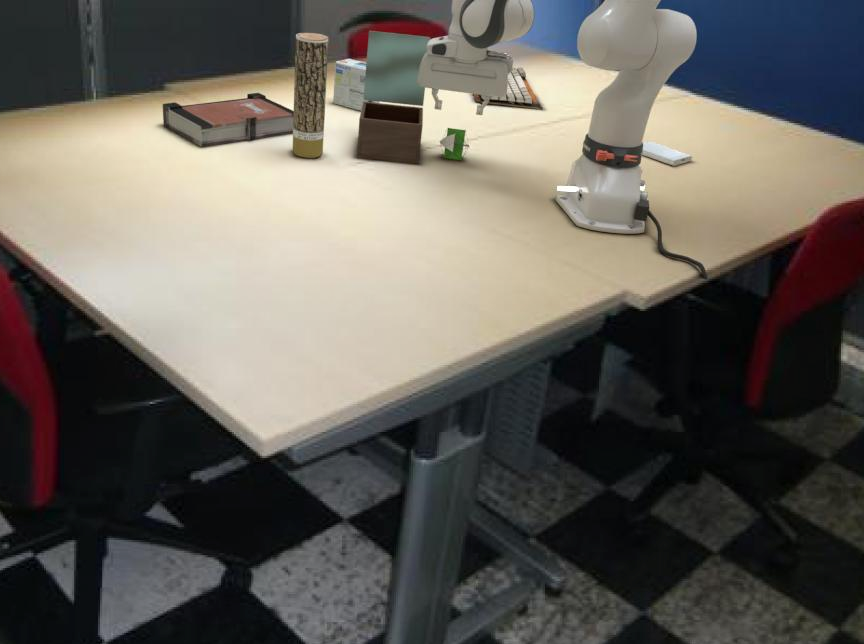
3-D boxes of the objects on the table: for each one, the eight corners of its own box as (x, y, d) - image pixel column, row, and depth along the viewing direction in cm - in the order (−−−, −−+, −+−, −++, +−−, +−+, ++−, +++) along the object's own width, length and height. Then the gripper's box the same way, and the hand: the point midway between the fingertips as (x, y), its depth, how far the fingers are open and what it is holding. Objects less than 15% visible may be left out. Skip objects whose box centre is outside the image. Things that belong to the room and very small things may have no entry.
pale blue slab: (430, 37, 205) (430, 37, 206) (369, 30, 205) (369, 30, 206) (423, 106, 210) (423, 106, 211) (363, 99, 210) (363, 99, 210)
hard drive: (632, 145, 226) (674, 159, 219) (650, 140, 231) (692, 154, 224) (630, 151, 227) (672, 166, 220) (649, 147, 232) (690, 161, 225)
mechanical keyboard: (543, 109, 253) (545, 97, 251) (476, 104, 251) (477, 91, 250) (522, 76, 284) (524, 65, 283) (462, 71, 283) (463, 60, 281)
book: (203, 148, 199) (202, 125, 196) (163, 125, 209) (162, 103, 206) (299, 133, 214) (300, 112, 211) (258, 113, 225) (258, 92, 222)
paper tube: (328, 155, 202) (335, 38, 189) (306, 161, 198) (311, 41, 184) (308, 147, 206) (313, 31, 192) (286, 152, 202) (289, 34, 188)
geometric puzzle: (441, 139, 213) (442, 118, 206) (470, 143, 213) (472, 122, 205) (436, 165, 211) (438, 144, 203) (466, 169, 210) (468, 148, 203)
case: (418, 164, 204) (422, 125, 199) (356, 157, 203) (359, 118, 198) (418, 144, 215) (422, 107, 211) (360, 138, 215) (363, 101, 210)
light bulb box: (379, 108, 239) (383, 65, 233) (365, 112, 234) (368, 69, 228) (346, 99, 243) (349, 57, 237) (332, 103, 238) (334, 61, 232)
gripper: (514, 50, 198) (504, 113, 206) (422, 38, 199) (416, 102, 207) (514, 56, 193) (504, 121, 201) (420, 44, 194) (413, 109, 202)
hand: (458, 111), depth 204 cm, fingers open, 8 cm apart
